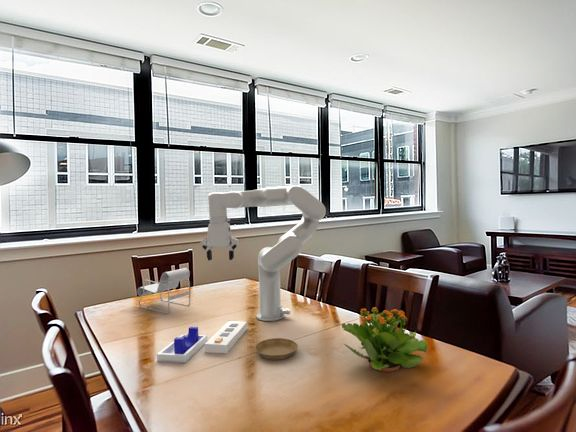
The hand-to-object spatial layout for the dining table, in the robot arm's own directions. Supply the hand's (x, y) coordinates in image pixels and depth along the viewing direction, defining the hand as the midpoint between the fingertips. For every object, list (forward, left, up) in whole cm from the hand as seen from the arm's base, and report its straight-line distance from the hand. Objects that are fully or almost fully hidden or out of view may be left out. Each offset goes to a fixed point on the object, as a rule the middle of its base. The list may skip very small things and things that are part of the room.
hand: (220, 259), depth 157 cm
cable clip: (+2, +32, -27) cm, 42 cm away
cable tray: (+2, +32, -27) cm, 42 cm away
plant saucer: (-31, +29, -28) cm, 51 cm away
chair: (+38, -18, -28) cm, 50 cm away
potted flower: (-66, +34, -27) cm, 79 cm away
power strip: (-10, +20, -27) cm, 35 cm away
